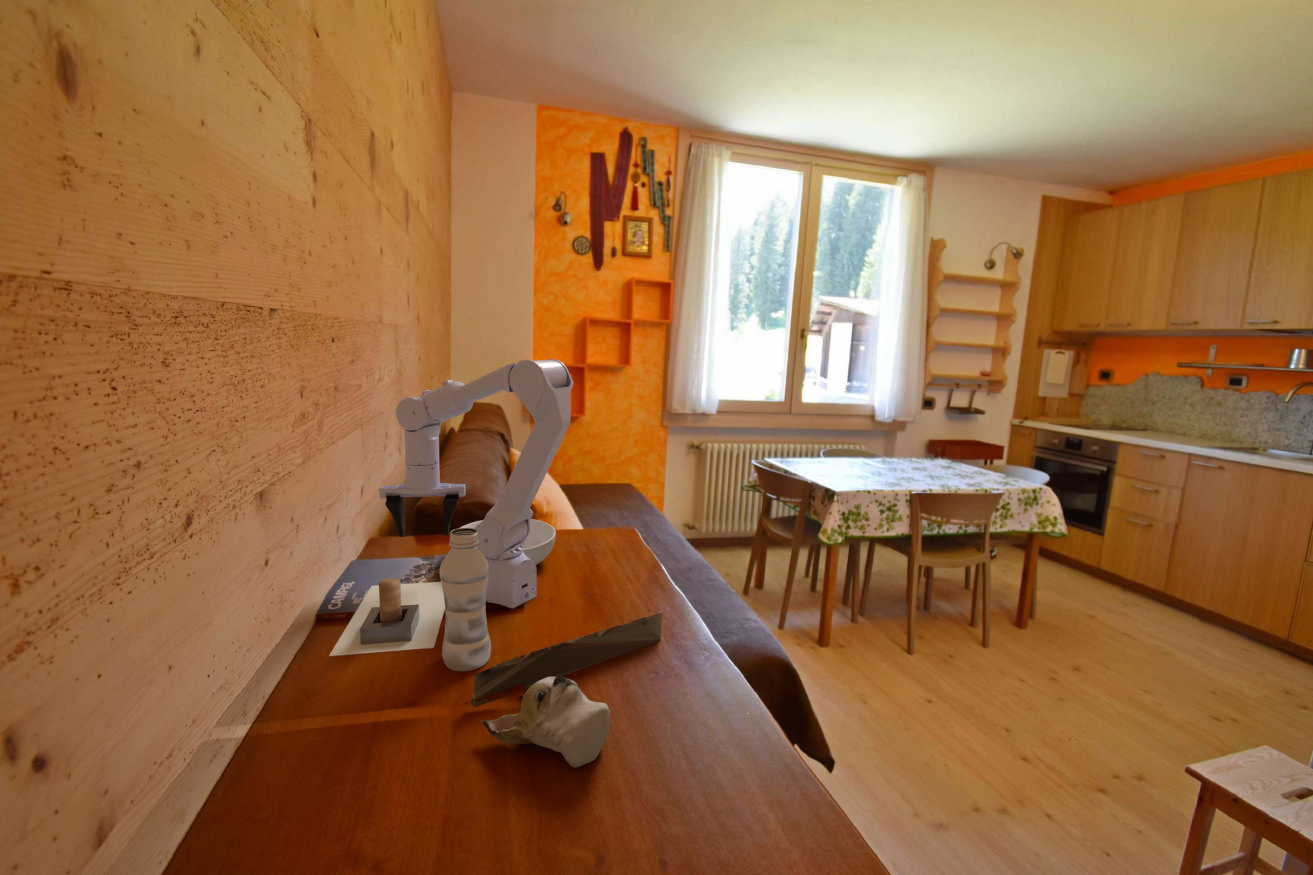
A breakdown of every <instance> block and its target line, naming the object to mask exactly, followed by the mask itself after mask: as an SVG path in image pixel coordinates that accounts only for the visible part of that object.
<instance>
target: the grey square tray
mask: <svg viewBox="0 0 1313 875" xmlns="http://www.w3.org/2000/svg"><path fill="white" fill-rule="evenodd" d="M401 609H402V622H389V623H380V607H372V608H371V610H370V612H369V613H368V615H367V617H366V619H365V621H364V622H363V624H362V626H361V628H360V642H361V645H364V644H377V643H390V642H402V641H412V638H413V635H414V633H415V630H416V627H417V624H418V622H419V619H420V618H419V604H417V605H402V606H401Z"/></svg>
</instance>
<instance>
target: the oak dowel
mask: <svg viewBox="0 0 1313 875" xmlns="http://www.w3.org/2000/svg"><path fill="white" fill-rule="evenodd" d="M401 584H402V583H401V579H400V578H395V577H394V578H393V577H392V578H386V579H383V580H380V581H379V583H378V585H379V601H380V623H389V622H402V609H401Z"/></svg>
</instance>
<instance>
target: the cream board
mask: <svg viewBox="0 0 1313 875" xmlns="http://www.w3.org/2000/svg"><path fill="white" fill-rule="evenodd" d="M417 604H419V618H420V619H419V622H418V624H417V627H416V630H415V633H414V635H413V638H412V641H402V642H390V643H377V644H364V645H361V642H360V628H361V626H362V624H363V622H364V621H365V619H366V617H367V615H368V613H369V612H370V610H371V608H372V607H380V601H379V584H378V585H377V584H376V585H371V587H370V588H369V589H368V591H367V593H366V594H365V595H364V597H363V599H362V601H361V602H360V604H359V606H358V608H356V611H355V612H354V614H353V616H352V617H351V619H350V620H349V623H348V624H347V626H346V627H345V629H344V630H343V632H342V633H341V635H340V637H339V638H338V640H337V642H336V643H335V645H334V647H333V649H332V650H331V652H330V654H329V655H328V657H336V656H347V655H349V656H350V655H361V654H373V653H384V652H385V653H387V652H397V651H409V650H410V651H411V650H421V649H423V650H424V649H432V648H433V649H435V645H436V641H437V638H438V634H439V630H440V627H441V623H442V620H443V617H444V614H445V603H444V594H443V589H442V584H441V581H433V582H429V581H428V582H416V583H415V582H414V583H401V606H402V605H417Z"/></svg>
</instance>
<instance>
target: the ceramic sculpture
mask: <svg viewBox="0 0 1313 875" xmlns="http://www.w3.org/2000/svg"><path fill="white" fill-rule="evenodd" d="M610 717H611V712H610V708H609V706H608V705H607V703H606V702H597V701H592V700H590V699H589V698H588V697H587V696H586V695H585V693H584V692H582V690H581V688H580V687H579V686H578V683H577V682H576V681H575V680H572V679H570V678H567V677H566V676H565V675H563V676H557V677H547V678H544V679H542V680H540V681H538V682H536V683H535V684H533V685H532V686H531V687H530V688H527V689H526V691H525V693H524V695H523V696H522V699H521V704H520V709H519V712H518V713H514V714H512V713H511V714H509V713H508V714H505V715H502V716H500V717H498V718H497V719H488V720H487V719H484V720H482V721H481V723H482V725H483V726H484V727H485V729H486V730H487V731H488V733H489V734H490V735H492V736H493V737H494V738H496V739H497V740H499V741H500V742H502V743H504V744H508V745H516V744H517V745H518V744H519V745H521V744H522V745H526V744H534V745H537V746H541V747H542V748H546V749H550V750H552V751H555V752H558V753H561V755H562V757H563V758H564V759H565V761H566V762H567V763H568V765H570V766H571V767H572V768H579V767H582V766H584V765H587V764H590V763H592V762H593V761H595V760H596V759H597V757H598V756H599V754H600V752H601V751H602V748H603V747H604V744H605V743H606V739H607V738H608V736H609V734H610V733H609V732H610V724H611V723H610V720H611V718H610Z"/></svg>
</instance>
